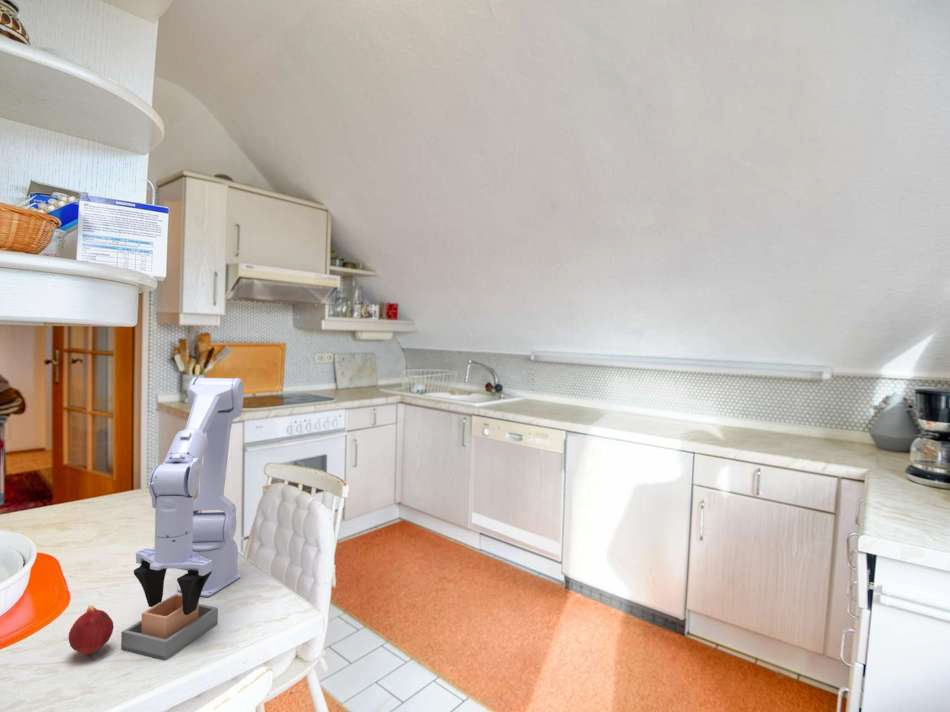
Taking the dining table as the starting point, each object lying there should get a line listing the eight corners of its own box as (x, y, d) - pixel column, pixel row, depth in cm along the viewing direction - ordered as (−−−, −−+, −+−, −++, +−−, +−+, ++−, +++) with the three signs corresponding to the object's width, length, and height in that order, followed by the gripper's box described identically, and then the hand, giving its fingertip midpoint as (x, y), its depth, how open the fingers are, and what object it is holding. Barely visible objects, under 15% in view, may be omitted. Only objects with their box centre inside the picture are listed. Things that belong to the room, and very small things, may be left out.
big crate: (177, 615, 95) (177, 599, 95) (217, 624, 92) (217, 607, 92) (121, 649, 84) (121, 631, 84) (165, 660, 81) (165, 642, 81)
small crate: (175, 620, 92) (176, 593, 92) (198, 625, 90) (198, 598, 90) (141, 642, 85) (141, 613, 85) (165, 648, 84) (165, 618, 84)
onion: (120, 643, 85) (121, 597, 85) (96, 665, 80) (97, 615, 79) (85, 643, 85) (86, 596, 85) (58, 665, 79) (59, 615, 79)
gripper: (120, 534, 86) (118, 612, 86) (189, 546, 82) (187, 628, 82) (156, 520, 92) (154, 592, 93) (221, 530, 89) (219, 606, 89)
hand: (172, 608), depth 88 cm, fingers open, 7 cm apart
